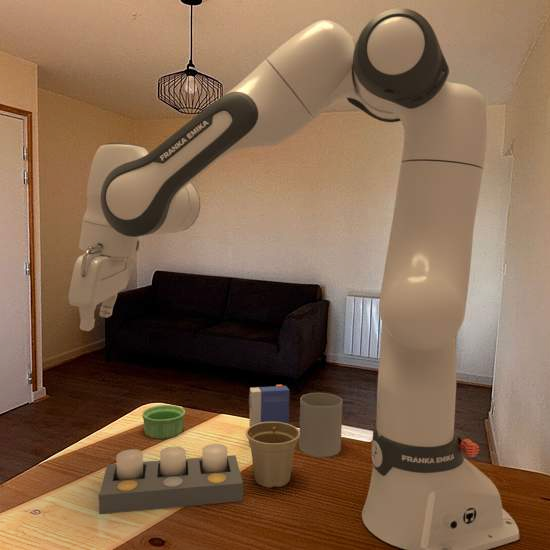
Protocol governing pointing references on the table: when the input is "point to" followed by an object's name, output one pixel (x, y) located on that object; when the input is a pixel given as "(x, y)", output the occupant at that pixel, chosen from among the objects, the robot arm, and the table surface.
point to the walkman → (269, 404)
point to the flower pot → (272, 451)
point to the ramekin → (163, 421)
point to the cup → (320, 424)
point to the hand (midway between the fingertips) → (96, 322)
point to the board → (170, 487)
